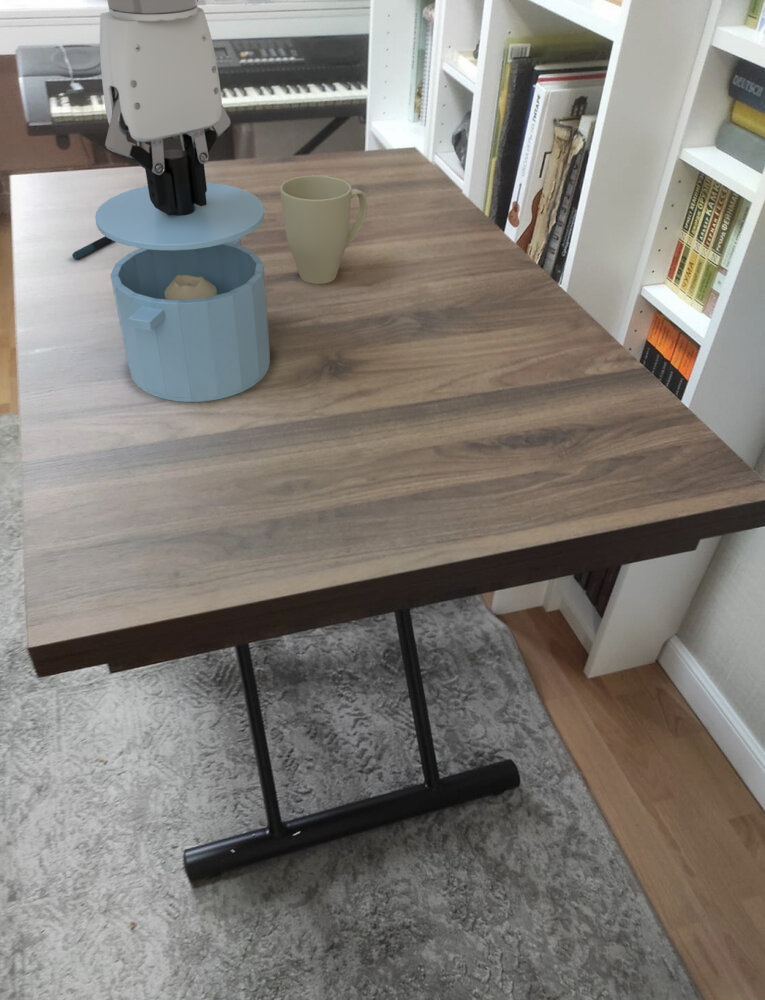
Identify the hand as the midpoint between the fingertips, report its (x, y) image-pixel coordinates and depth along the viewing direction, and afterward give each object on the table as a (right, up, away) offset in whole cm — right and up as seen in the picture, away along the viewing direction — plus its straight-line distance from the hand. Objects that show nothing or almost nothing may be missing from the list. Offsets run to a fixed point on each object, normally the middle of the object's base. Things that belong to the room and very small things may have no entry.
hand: (180, 204), depth 83 cm
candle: (-1, -14, +11) cm, 18 cm away
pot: (0, -14, +12) cm, 18 cm away
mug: (+12, +1, +31) cm, 33 cm away
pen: (-19, +8, +37) cm, 43 cm away
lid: (0, -1, +1) cm, 1 cm away
